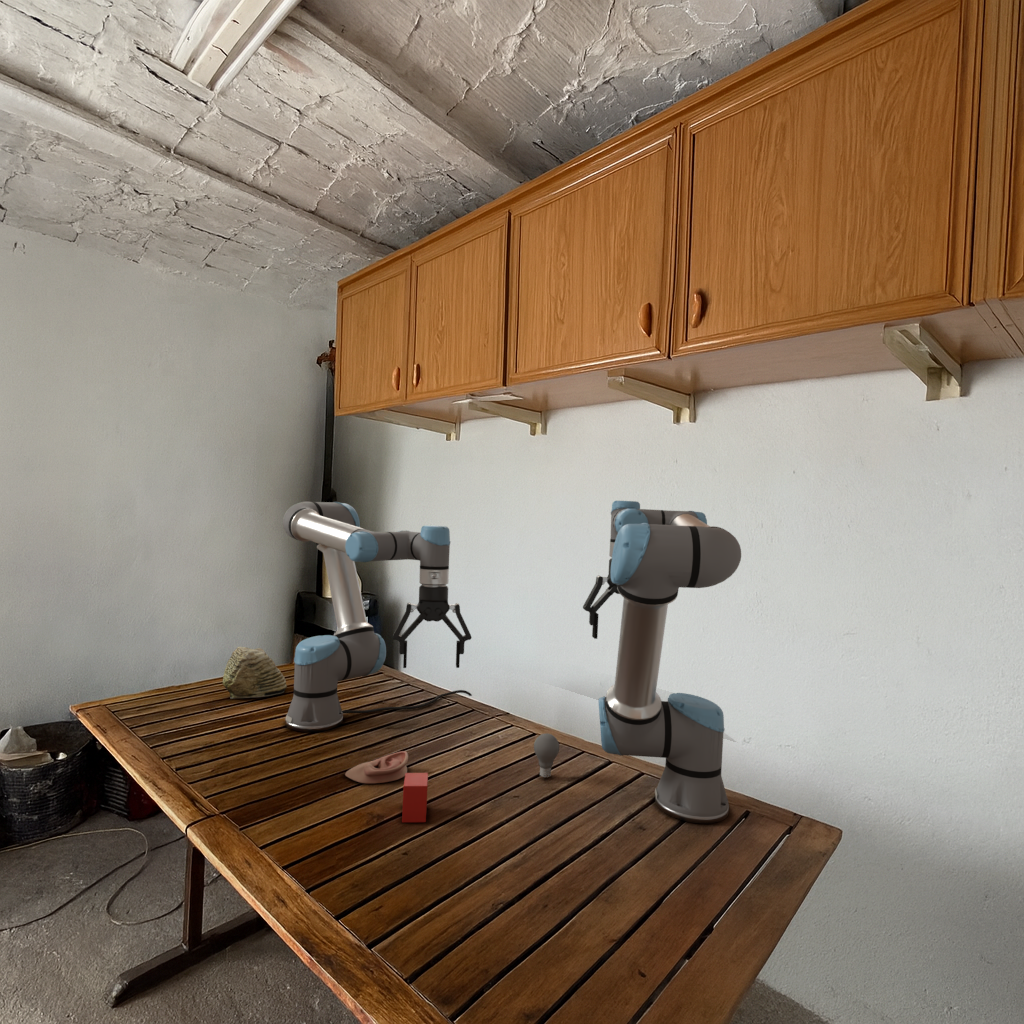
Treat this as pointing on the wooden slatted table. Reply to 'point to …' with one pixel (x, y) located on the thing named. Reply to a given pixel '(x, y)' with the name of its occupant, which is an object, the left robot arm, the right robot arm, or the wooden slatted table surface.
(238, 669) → the fossil
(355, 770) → the anatomical model
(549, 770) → the light bulb
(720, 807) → the right robot arm
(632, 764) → the wooden slatted table surface
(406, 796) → the block
